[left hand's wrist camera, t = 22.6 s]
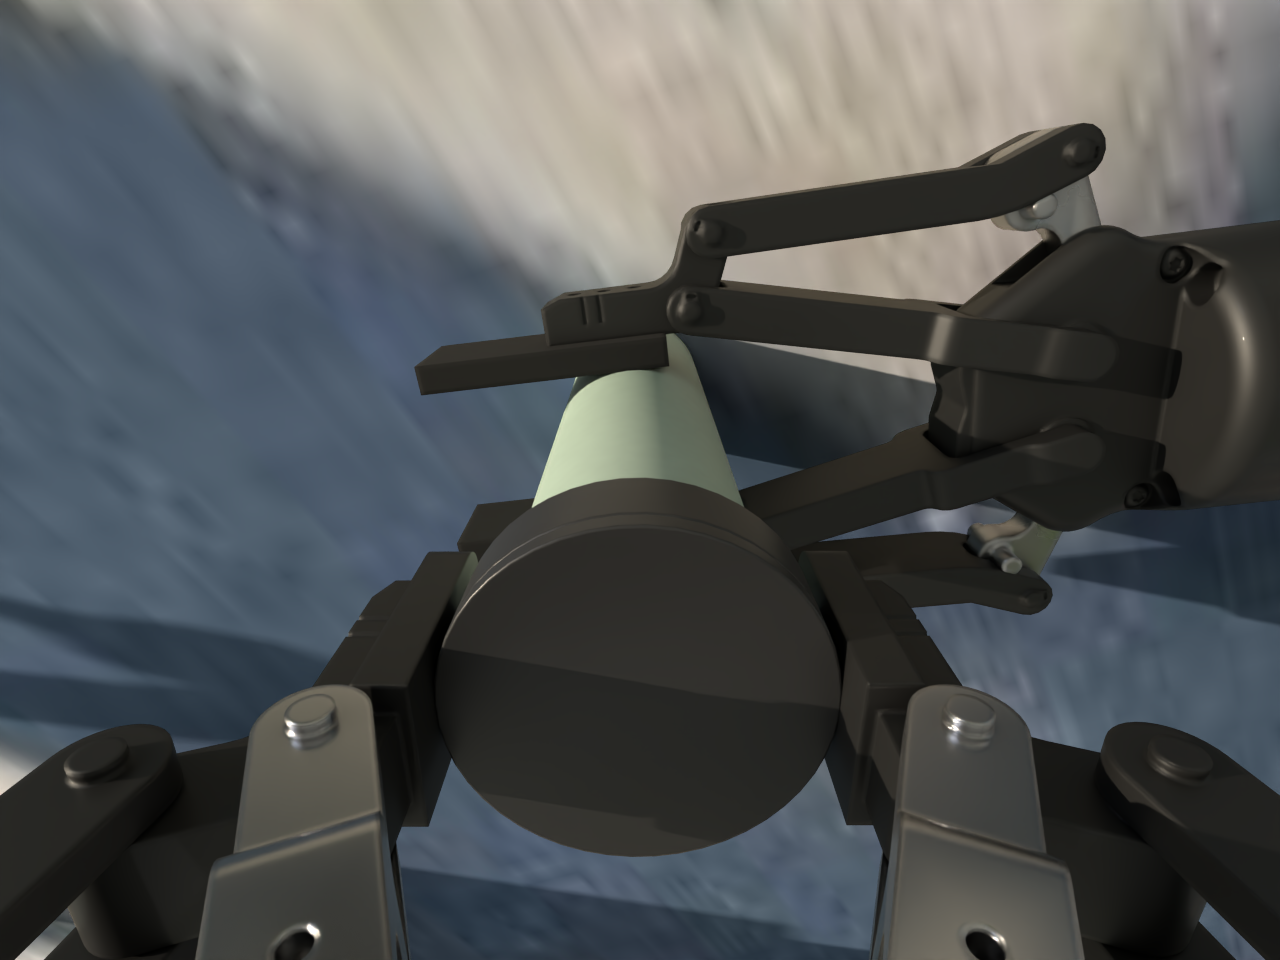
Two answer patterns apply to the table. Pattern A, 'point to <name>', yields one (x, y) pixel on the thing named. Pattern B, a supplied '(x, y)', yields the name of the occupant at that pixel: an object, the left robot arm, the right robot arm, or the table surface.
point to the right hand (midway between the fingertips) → (453, 455)
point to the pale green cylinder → (639, 431)
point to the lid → (638, 671)
